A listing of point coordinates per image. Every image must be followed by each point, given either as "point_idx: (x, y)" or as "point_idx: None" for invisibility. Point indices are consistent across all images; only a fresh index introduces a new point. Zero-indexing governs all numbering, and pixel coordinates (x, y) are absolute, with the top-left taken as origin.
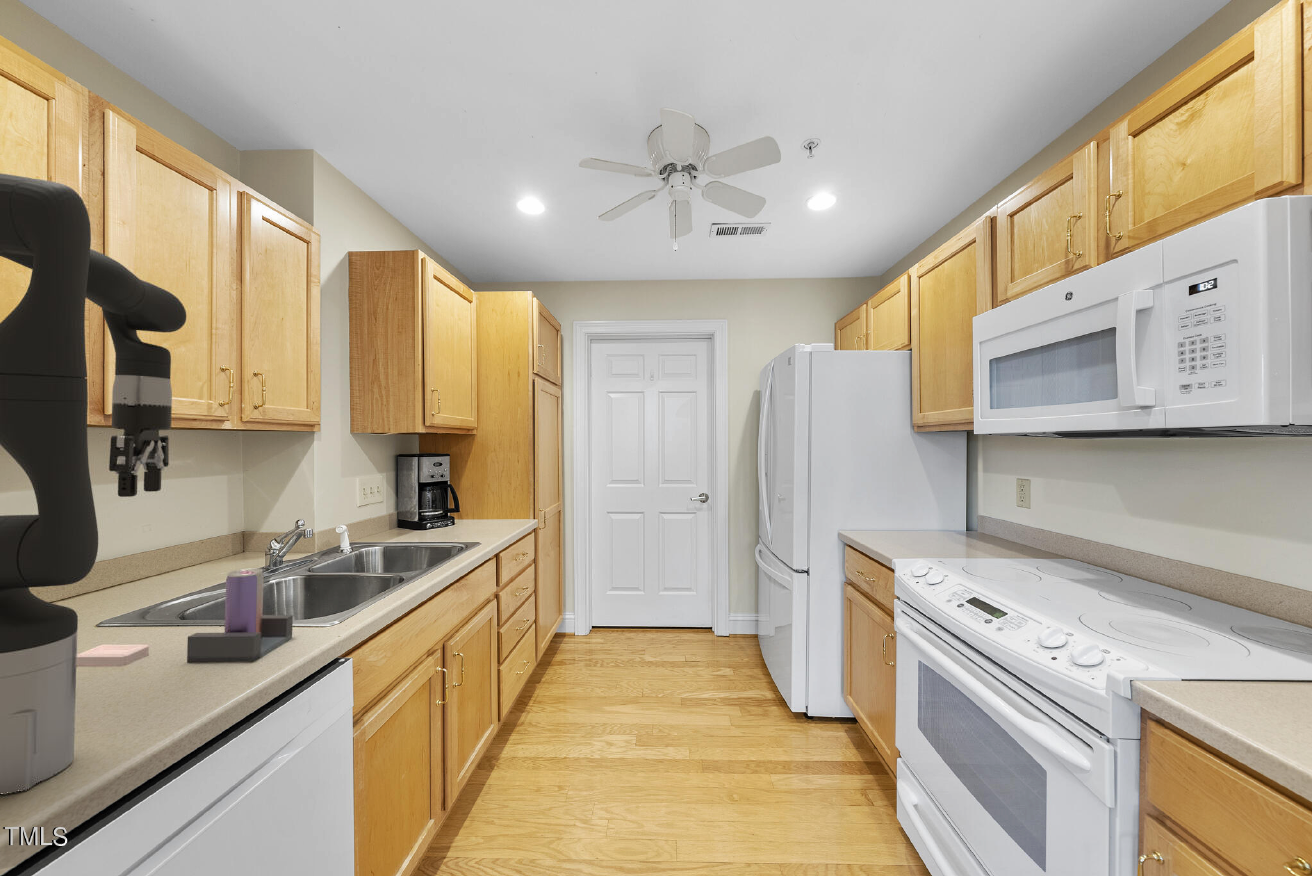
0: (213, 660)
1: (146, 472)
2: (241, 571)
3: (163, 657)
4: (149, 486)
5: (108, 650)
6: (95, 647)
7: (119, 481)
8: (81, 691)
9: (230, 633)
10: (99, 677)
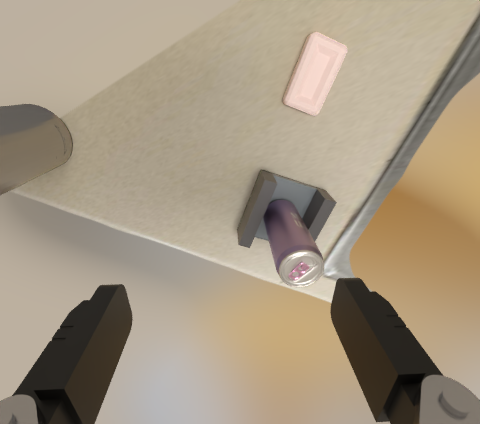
0: (251, 195)
1: (390, 375)
2: (315, 261)
3: (291, 136)
4: (345, 307)
5: (325, 66)
6: (336, 46)
7: (39, 359)
8: (211, 93)
9: (258, 220)
10: (250, 91)
